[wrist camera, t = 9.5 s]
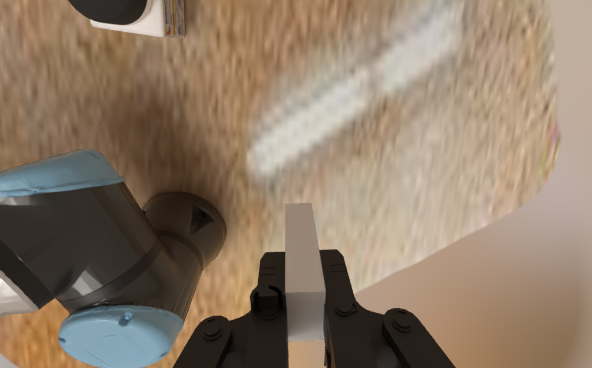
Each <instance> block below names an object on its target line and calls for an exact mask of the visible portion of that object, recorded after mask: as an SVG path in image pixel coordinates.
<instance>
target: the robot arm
mask: <svg viewBox="0 0 592 368" xmlns="http://www.w3.org/2000/svg"><path fill="white" fill-rule="evenodd" d="M124 181H125V180H124V179H123V177H120V176H119V174H118V173H117V172H116V171H115V169H114V168H113V167H112V165H111V164H110V163H109V161H108V160H107V158H106V157H105V156H104V155H103V154H101V153H100V152H98V151H95V150H91V149H82V150H77V151H73V152H68V153H64V154H61V155H57V156H53V157H49V158H46V159H42V160H38V161H35V162H31V163H28V164H24V165H20V166H17V167H13V168H10V169H6V170H3V171H0V317H3V316H6V315H11V314H23V313H34V312H36V311H38V310H39V309H41V308H42V307H43V306H45V305H46V304H47V303H49V302H50V301H51V300H53V299H54V298H56V299H57V300H58V301H59V302H60V303H61V304H62V305H63V307H64V308H65V309H66V310H67V311H68V312H69V314H70V315H69V316H68V317H67V318H65V320H64V321H63V322H62V324H61V329H60V330H59V338H58V340H59V344H60V346H61V347H62V348H63V350H64V351H65V352H66V353H67V354H69V355H70V356H72V357H73V358H75V359H77V360H79V361H81V362H83V363H86V364H89V365H92V366H96V367H100V368H142V367H146V366H149V365H152V364H154V363H156V362H158V361H159V360H161V359H162V358H164V357H165V356H166V355H167V354H168V353H169V351H170V350H171V349H172V347H173V345H174V343H175V340H176V338H177V336H178V334H179V332H180V331H181V329H182V328H183V325H184V321H185V318H186V315H187V312H188V310H189V307H190V304H191V301H192V298H193V296H194V293H195V290H196V287H197V284H198V282H199V279H200V276H201V273H202V271H203V270H204V269H205V268H206V267H207V266H208V265H209V264H210V263H211V261H213V260H214V259H215V258H216V257H217V255H218V254H219V252H220V251H221V248H222V246H223V243H224V240H225V234H226V231H225V225H224V221H223V219H222V217H221V215H220V214H219V212H218V211H217V210H216V209H215V208H214V207H213V206H212V205H211V204H210V203H208V202H207V201H205V200H204V199H202V198H200V197H198V196H195V195H192V194H188V193H182V192H170V193H165V194H161V195H159V196H157V197H155V198H153V199H152V200H150V201H149V202H148V203H147V204H146V205H145V206H144V208H143V209H142V210H141V208H140V206H139V205H138V203H137V202H136V200H135V199H134V197H133V195H132V194H131V192H130V191H129V189H128V188H127V186H126V184H125V183H124ZM250 302H251V310H250V312H249V313H247V314H246V315H244V316H242V317H240V318H237V319H234V320H231V321H229V320H228V319H227V318H225V317H223V316H212V317H209V318H206V319H205V320H203V321H202V322H200V324H199V325H198V326H197V327H196V329H195V330H194V332H193V334H192V335H191V337H190V339H189V340H188V342H187V344H186V346H185V347H184V349H183V351H182V352H181V354H180V356H179V358H178V359H177V361H176V363H175V364H174V366H173V368H289V367H288V366H289V365H288V342H289V341H312V340H313V341H314V340H325V362H324V366H326V367H327V368H456V367H455V366H454V365H453V363H452V362H451V361H450V360H449V358H448V357H447V356H446V354H445V353H444V352H443V351H442V349H441V348H440V347H439V345H438V344H437V343H436V342H435V340H434V339H433V338H432V336H431V335H430V334H429V332H428V331H427V330H426V328H425V327H424V326H423V325H422V324H421V322H420V321H419V319H418V318H417V317H416V316H415V315H414V314H413V313H411V312H409V311H407V310H405V309H400V308H393V309H390V310H388V311H387V312H386V313H385V314H384V315H383V314H379V313H375V312H371V311H369V310H366V309H364V308H363V307H362V306H360V305H359V303H358V302H357V301H356V299H355V297H354V294H353V290H352V286H351V283H350V279H349V276H348V272H347V268H346V266H345V261H344V257H343V255H342V254H341V253H340V252H339V251H338V250H337V249H334V250H319V247H318V241H317V234H316V228H315V222H314V216H313V210H312V204H311V203H302V204H285V252H266V253H265V254H264V255H263V257H262V258H261V260H260V269H259V277H258V285H257V287H256V288H255V289H254V290H253V291H252V293H251V295H250Z"/></svg>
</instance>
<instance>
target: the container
mask: <svg viewBox="0 0 592 368" xmlns="http://www.w3.org/2000/svg"><path fill="white" fill-rule="evenodd" d="M69 2H70V3H71V4H72V5H73V6H74V8H75V9H76V10H78V11H79V12H80V13H81V14H82V15H84V16H85V17H87V18H89V19H90V22H91V25H92V26H93V27H96V28H102V29H109V30H116V31H123V32H129V33H136V34H143V35H150V36H156V37H166V38H180V39H183V38H184V37H185V27H184V0H69Z"/></svg>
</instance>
